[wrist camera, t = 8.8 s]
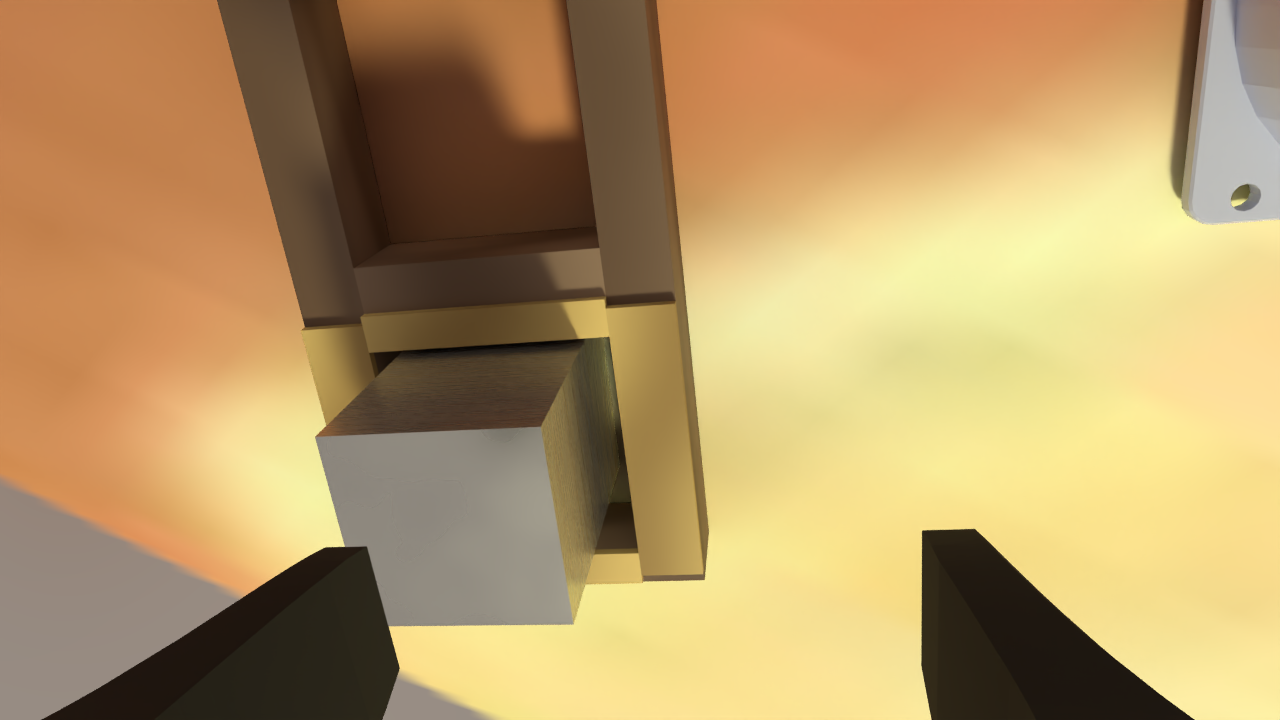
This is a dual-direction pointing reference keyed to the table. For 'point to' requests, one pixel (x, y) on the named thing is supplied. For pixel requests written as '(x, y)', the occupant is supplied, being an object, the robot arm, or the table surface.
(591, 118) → the beige slotted frame
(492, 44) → the table surface
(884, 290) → the table surface
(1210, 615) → the table surface
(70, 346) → the table surface
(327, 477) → the metal peg
